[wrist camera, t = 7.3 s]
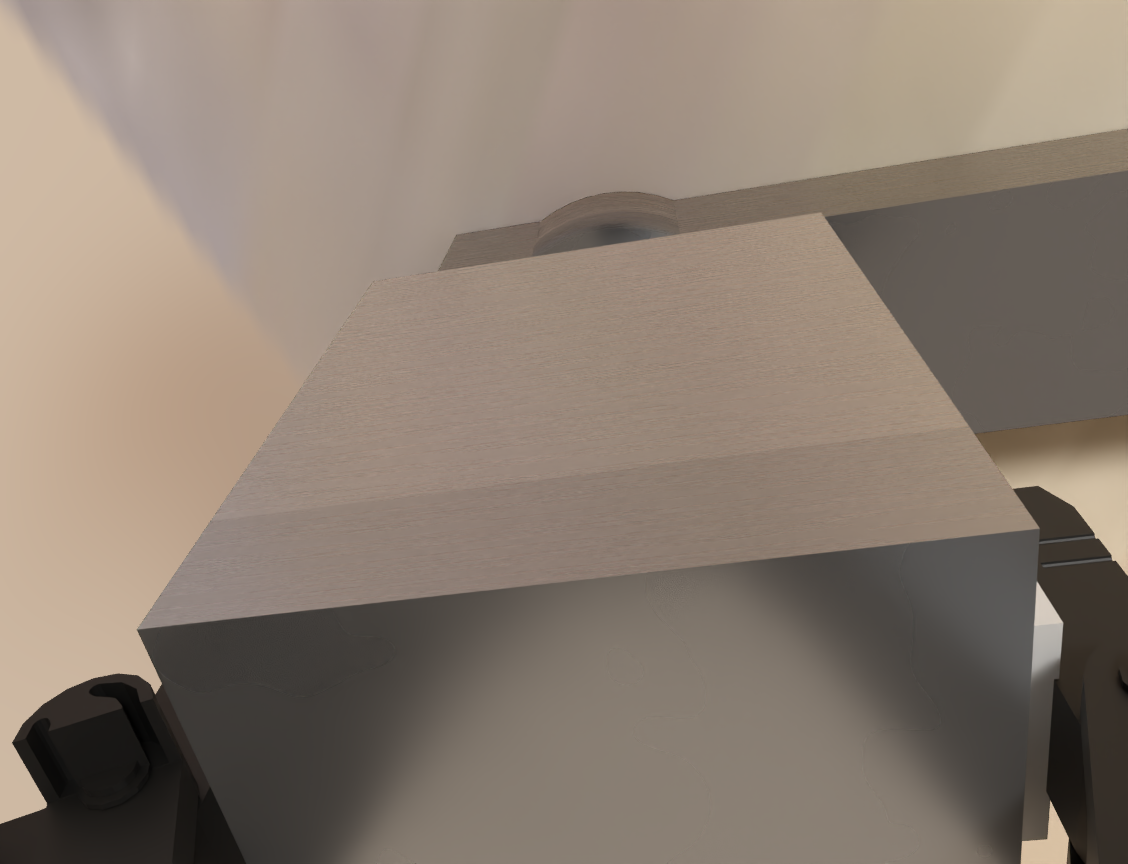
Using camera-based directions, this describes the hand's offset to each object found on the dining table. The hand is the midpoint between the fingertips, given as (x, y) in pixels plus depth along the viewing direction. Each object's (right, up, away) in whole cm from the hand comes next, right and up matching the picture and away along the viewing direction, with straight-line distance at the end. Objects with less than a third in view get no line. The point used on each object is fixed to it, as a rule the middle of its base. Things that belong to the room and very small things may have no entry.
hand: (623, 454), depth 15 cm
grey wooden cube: (0, 0, 0) cm, 0 cm away
